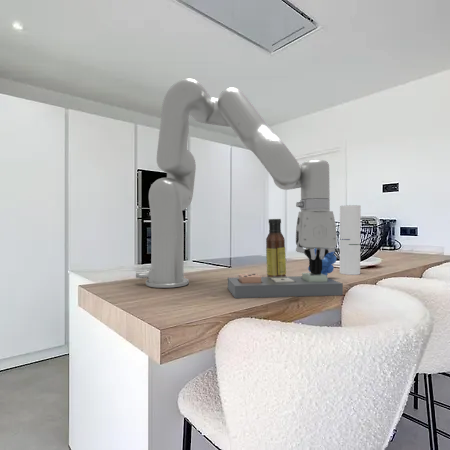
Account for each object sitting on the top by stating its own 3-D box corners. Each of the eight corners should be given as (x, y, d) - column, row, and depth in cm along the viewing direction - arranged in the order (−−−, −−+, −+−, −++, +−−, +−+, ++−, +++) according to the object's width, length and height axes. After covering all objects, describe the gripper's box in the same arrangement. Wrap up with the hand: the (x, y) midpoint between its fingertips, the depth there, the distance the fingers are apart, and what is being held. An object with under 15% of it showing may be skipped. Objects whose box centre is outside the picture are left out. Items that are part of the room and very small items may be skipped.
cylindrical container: (342, 271, 123) (342, 206, 123) (362, 272, 119) (362, 206, 119) (337, 273, 117) (337, 205, 117) (357, 275, 113) (357, 205, 113)
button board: (234, 298, 78) (234, 285, 78) (227, 288, 90) (227, 277, 90) (342, 295, 82) (342, 283, 82) (322, 286, 94) (322, 275, 94)
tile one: (276, 293, 83) (276, 280, 83) (270, 289, 88) (270, 277, 88) (294, 292, 84) (294, 280, 84) (288, 288, 88) (288, 277, 88)
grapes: (326, 276, 112) (326, 241, 112) (341, 279, 106) (341, 242, 106) (300, 278, 106) (300, 242, 106) (314, 281, 100) (314, 243, 100)
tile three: (242, 288, 82) (242, 276, 82) (238, 285, 87) (238, 273, 87) (261, 288, 82) (261, 276, 82) (256, 284, 87) (256, 273, 87)
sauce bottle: (285, 277, 108) (285, 219, 108) (286, 281, 102) (287, 218, 102) (265, 277, 108) (265, 218, 108) (266, 280, 102) (266, 218, 102)
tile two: (309, 287, 84) (309, 275, 84) (302, 283, 89) (302, 272, 89) (327, 286, 85) (327, 275, 85) (319, 283, 90) (319, 272, 90)
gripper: (293, 205, 82) (294, 276, 82) (348, 205, 84) (348, 275, 84) (284, 207, 89) (284, 272, 89) (334, 207, 92) (335, 271, 92)
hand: (315, 273), depth 87 cm, fingers closed
